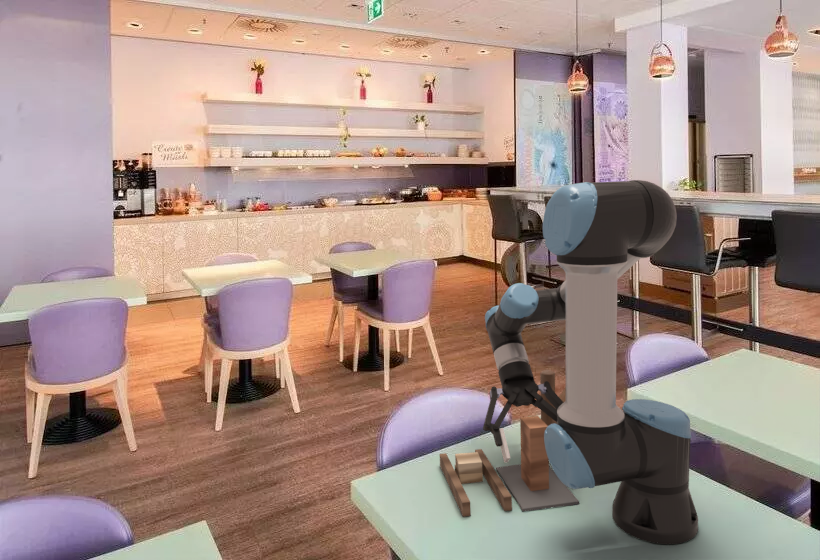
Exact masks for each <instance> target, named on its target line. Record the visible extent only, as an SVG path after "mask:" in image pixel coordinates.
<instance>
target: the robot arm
mask: <svg viewBox="0 0 820 560" xmlns="http://www.w3.org/2000/svg"><path fill="white" fill-rule="evenodd" d="M677 215H678V214H677V209H676V205H675V202H674V201H673V199H672V197H671V196H670V194H669V193H668V192H667V191H666V190H665V189H664V188H663V187H661V186H659V185H658V184H656V183H653V182H652V181H651V182H650V181H647V180H639V179H637V180H635V179H633V180H622V181H600V182H599V181H598V182H597V181H595V182H588V181H584V182H579V183H572V184H566V185H563V186H561V187H559V188H557V189H556V190H555V191H554V193H553V194H552V195H551V198H549V200H548V202H547V204H546V206H545V209H544V215H543V218H542V219H543V221H542V235H543V236H542V237H543V239H544V240H545V241H544V245H545V246H546V248H547V250H548V251H549V252H550V253H551V254H554V255H556V264H557V265H558V266H560V268H561V269H563V271H564V272H565V280H564V281H563V282H562V283H561V284H560V285H559V286H558V287H557V288H556V287H555V288H546V289H535V288H534V287H533V286H531V285H529V284H525V283H521V282H518V283H514V284H512V285H509V287H508V288H507V290H506V292H505V293H504V294H503V295H502V297H501V299H500V303H499V305H495V306H493V307H491V308H490V309H488V310H487V311H486V312H485V315H484V321H485V329H486V331H487V335H488V338H489V342H490V345H491V349H492V354H493V357H494V362H495V366H496V368H497V370H498V376H499V380H500V381H499V382H500V384H501V388H497V387H496V386H491V388H490V390H489V403H488V407H487V410H486V411H487V412H486V415H485V418H484V423H483V427H482V430H483V431H484V432H490V433H491V434H492V435H493V440H494V444H495V446H496V447H500V449H501V450H500V451H501V454H502V458H503V463H504V464H506V463H509V461H510V460H511V454H510V449H509V446H508V442H507V438H506V434H505V430H504V428H500V426H501V425H502V423H503V421H504V419H505V418H506V416H507V415H508V413H509V411H510V409H511V407H512V406H515V407H516V408H518V407H521V406H525V407H528V406H530V405H532V406H533V407H534V408H538V409H539V410H540V411H541V410H542V411H543V412H544V413H546V414H547V415H548V416H549V417H551V418H552V419H553V420H554V421H556V422H557V423H554V424H551V425H549V426H548V427H547V428H546V430H545V433H544V443H545V449H546V453H547V456H548V459H549V465H551V466H550V467H551V469H552V470H553V471H554V472H555V474H556V475H557V477H558V478H559V479H560V481H561V482H562V483H563V484H565V485H566V486H567V487H568V489H574V490H578V489H579V490H580V489H586V488H588V489H593V488H595V487H599V486H605V485H609V484H615V483H618V482H620V483H619V487H618V489H617V491H616V495H615V497H614V500H613V501H612V506H611V508H612V510H611V512H612V513H611V514H612V516H611V517H612V519H613V522H614V524H615V525H616V526H617V527H618V528H619V529H620V530H621V531H623V532H624V533H625V534H627V535H629V536H631V537H633V538H636V539H639V540H641V541H643V542H648V543H652V544H659V545H678V544H682V543H685V542H688V541H691V540H692V539H694V538H695V537H696V535H697V533H698V530H699V529H698V528H699V527H698V526H699V516H698V513H697V510H696V506H695V504H694V500H693V498H692V494H691V491H690V488H689V487H690V461H691V459H690V458H691V439H692V434H691V420H690V417H689V415H688V414H687V413H686V412H685V411H683V410H682V409H681V408H678V407H676V406H675V405H671V404H668V403H666V402H661V401H657V400H654V399H645V398H644V399H642V398H639V399H638V398H636V399H634V398H633V399H627V400H626V401H625V402H623V406H622V407H619V406H618V405H617V403H616V402H617V396H616V395H617V339H618V333H617V331H618V328H617V327H618V280H619V279H620V278H621V277H622V276H623V275H624V274H625V273H626V272H627V271H628V270H630V269H631V268H632V267H633V266H634V265H635V264H636V263H637V262H639V261H640V260H641V259H648V258H650V257H652V256H654V254H655V255H656V253H657V252H659V251H660V250H661V249H662V248H663V247H664V246H665V245H666V244H667V242H669V240H670V239H671V237H672V236H673V233H674V232H675V228H676V226H677V217H678V216H677ZM557 321H565V387H566V401H565V402H563V401H562V400H561V399H560V398H559V395H558V394H557V393H556V391H555V392H554V391H553V390H552V388H551V386H550V383H549V382H548V381H545V382H544V384H537V383H536V381H535V378H534V374H533V371H532V367H531V364H530V361H529V356H528V354H527V351H526V347H525V343H524V340H523V337H522V332H523V331H524V329H525V328H526V326H527V325H529V324H532V325H533V324H540V323H546V322H547V323H548V322H557ZM538 392H540V394H539V393H538ZM541 393H542V394H544V395H545V397H546V398H547V399H548V400H549V401H550V403H551V404H552V405H553V406H554V407H555V408H556V409H555V408H554V407H553V406H552V405H550V404H549V403H548V402H546V401H545V400H544V399H543V398H542V396H541ZM501 395H502V397H504V398H505V399H506V400H507V401H506V403H505V404H504V407H503V408H502V410H501V412H500V414H499V415H498V417H497V419H496V421H495V422H494V423H492V420H493V417H494V412H495V410H496V409H495V408H496V405H497V402H498V401H497V400H498V399H500V396H501Z"/></svg>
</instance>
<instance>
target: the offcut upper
mask: <svg viewBox="0 0 820 560" xmlns="http://www.w3.org/2000/svg"><path fill="white" fill-rule="evenodd" d="M454 454H455V455H454V458H455V465H456V467H457V470H458V473H459V475H461V474H473V473H482V461H481V459H480V456H479V454H478V452H475V451H473V452H463V453H454Z"/></svg>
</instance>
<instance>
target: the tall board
mask: <svg viewBox="0 0 820 560" xmlns="http://www.w3.org/2000/svg"><path fill="white" fill-rule="evenodd" d="M519 420H520V421H519V422H520V425H519V426H520V464H521V478H522V479H523V481H524V482H525V484H526V485H527V486H528V488H529V489H530V491H536V490H544V489H549V466H550V462H549V459H548V456H547V453H546V449H545V443H544V433H545V430H546V428H547V427H548V426H547V425H546V424H545V423H544V422H543V421H542V420H541V417H540V416H539V415H533V416H524V417H520V418H519Z"/></svg>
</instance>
